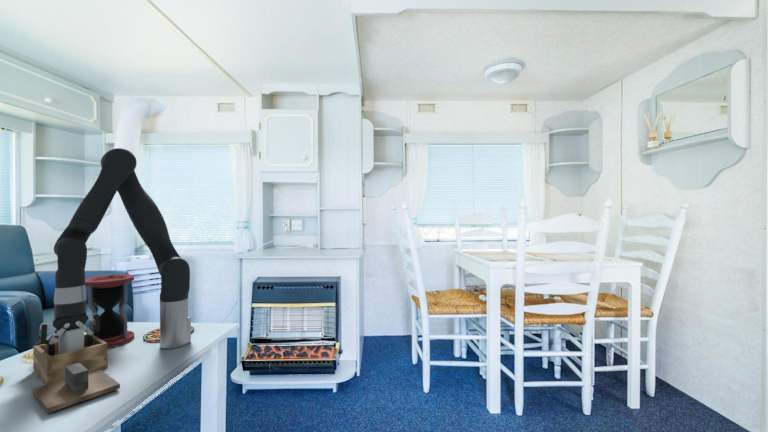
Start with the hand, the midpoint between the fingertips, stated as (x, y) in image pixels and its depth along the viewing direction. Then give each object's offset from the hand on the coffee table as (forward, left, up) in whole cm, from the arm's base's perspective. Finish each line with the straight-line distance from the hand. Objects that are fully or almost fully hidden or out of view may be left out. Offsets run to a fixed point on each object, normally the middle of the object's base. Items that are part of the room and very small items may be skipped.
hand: (70, 350), depth 108 cm
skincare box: (0, 0, -5) cm, 5 cm away
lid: (+4, +20, -5) cm, 21 cm away
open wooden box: (0, 0, -6) cm, 6 cm away
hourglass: (-15, -19, -6) cm, 25 cm away
